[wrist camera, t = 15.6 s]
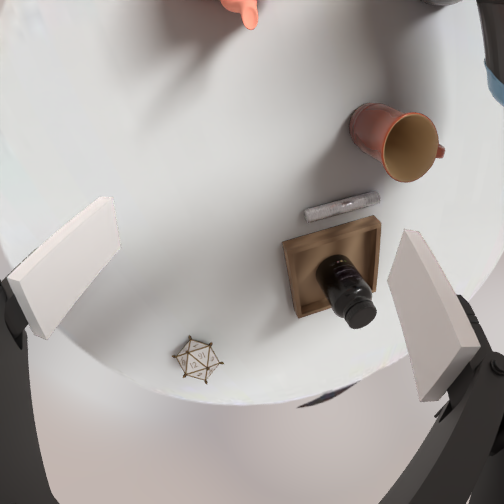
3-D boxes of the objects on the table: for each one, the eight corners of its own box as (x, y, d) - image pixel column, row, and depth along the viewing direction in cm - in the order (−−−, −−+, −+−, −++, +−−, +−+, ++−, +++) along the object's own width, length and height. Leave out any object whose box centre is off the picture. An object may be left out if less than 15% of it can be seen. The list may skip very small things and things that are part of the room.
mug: (336, 150, 40) (374, 179, 32) (346, 90, 35) (391, 105, 27) (401, 159, 42) (443, 187, 34) (413, 107, 37) (460, 127, 29)
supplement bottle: (346, 280, 55) (375, 329, 45) (311, 286, 53) (337, 338, 44) (353, 250, 50) (388, 298, 41) (317, 254, 49) (347, 307, 40)
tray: (373, 215, 48) (381, 223, 46) (370, 283, 57) (375, 291, 56) (282, 241, 47) (286, 251, 45) (294, 308, 57) (298, 318, 55)
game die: (202, 332, 62) (218, 377, 59) (163, 344, 57) (181, 391, 55) (216, 324, 54) (236, 376, 52) (173, 337, 50) (193, 392, 47)
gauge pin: (373, 188, 45) (380, 194, 43) (373, 199, 46) (380, 205, 44) (303, 207, 44) (307, 214, 43) (304, 218, 45) (309, 225, 44)
